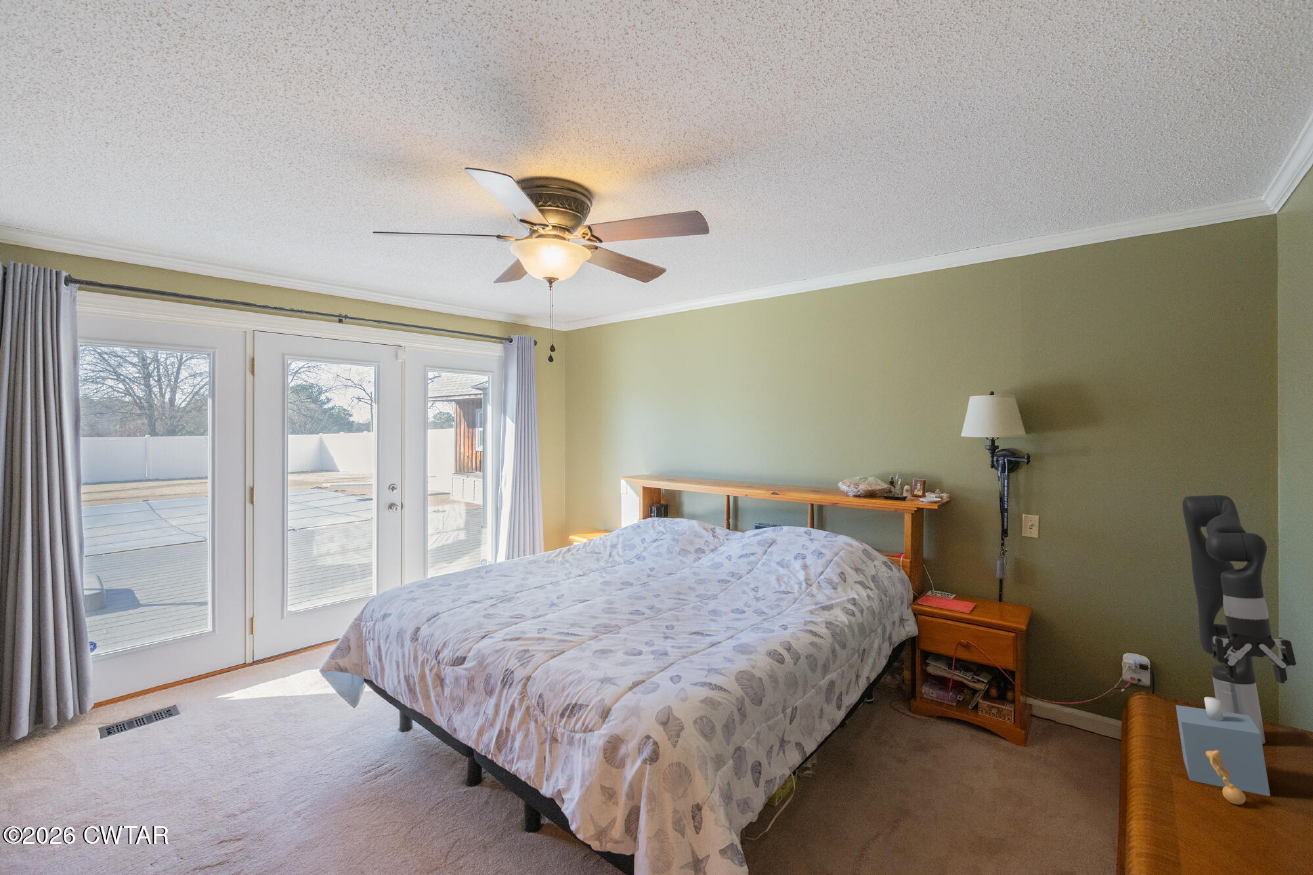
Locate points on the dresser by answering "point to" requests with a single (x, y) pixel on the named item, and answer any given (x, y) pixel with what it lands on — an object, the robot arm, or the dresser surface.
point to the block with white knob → (1222, 746)
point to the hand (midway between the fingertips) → (1256, 681)
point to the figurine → (1225, 779)
